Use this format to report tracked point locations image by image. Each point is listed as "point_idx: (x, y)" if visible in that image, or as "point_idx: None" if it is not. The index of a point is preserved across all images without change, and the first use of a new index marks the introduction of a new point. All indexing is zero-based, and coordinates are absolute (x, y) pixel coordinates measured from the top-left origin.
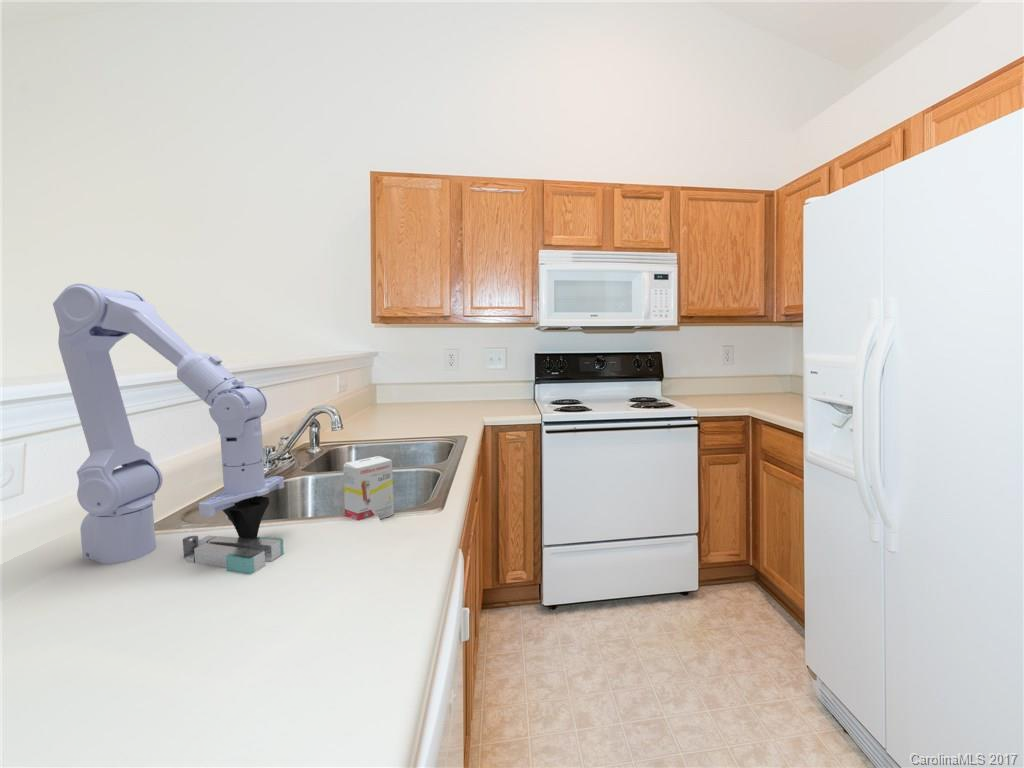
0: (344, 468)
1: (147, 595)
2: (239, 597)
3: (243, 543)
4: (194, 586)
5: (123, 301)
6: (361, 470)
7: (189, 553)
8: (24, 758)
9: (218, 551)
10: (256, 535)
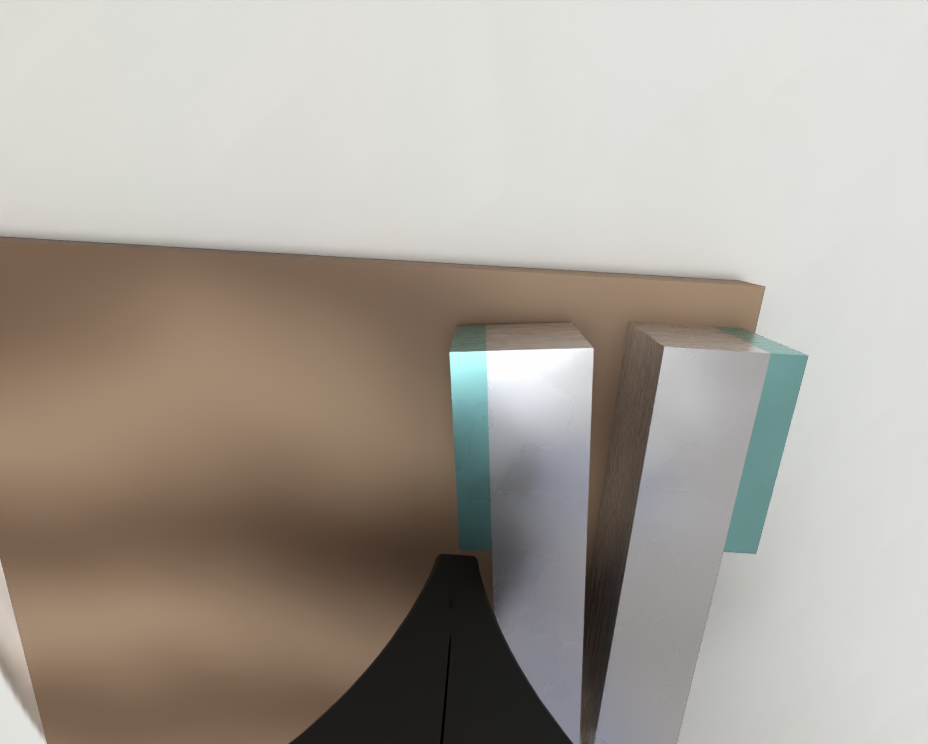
0: None
1: (838, 682)
2: (870, 266)
3: (581, 570)
4: (758, 566)
5: None
6: None
7: None
8: None
9: (697, 636)
10: (438, 581)
